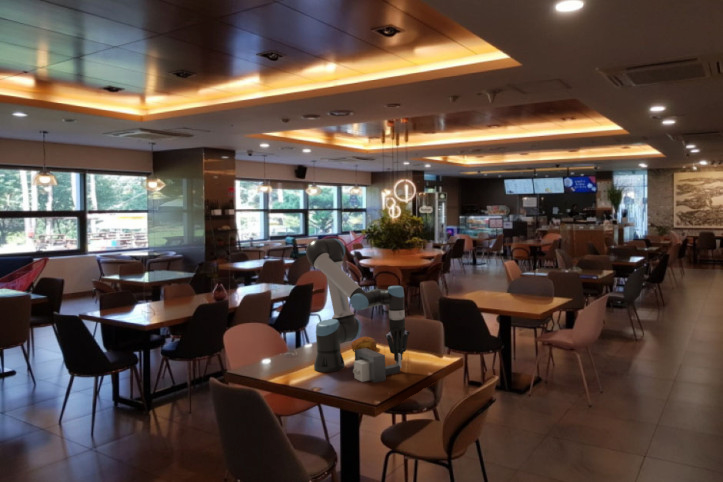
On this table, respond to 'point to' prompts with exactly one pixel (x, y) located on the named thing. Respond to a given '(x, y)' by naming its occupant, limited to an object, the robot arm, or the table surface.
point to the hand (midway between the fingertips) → (398, 367)
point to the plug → (363, 370)
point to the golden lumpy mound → (364, 343)
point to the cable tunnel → (373, 363)
